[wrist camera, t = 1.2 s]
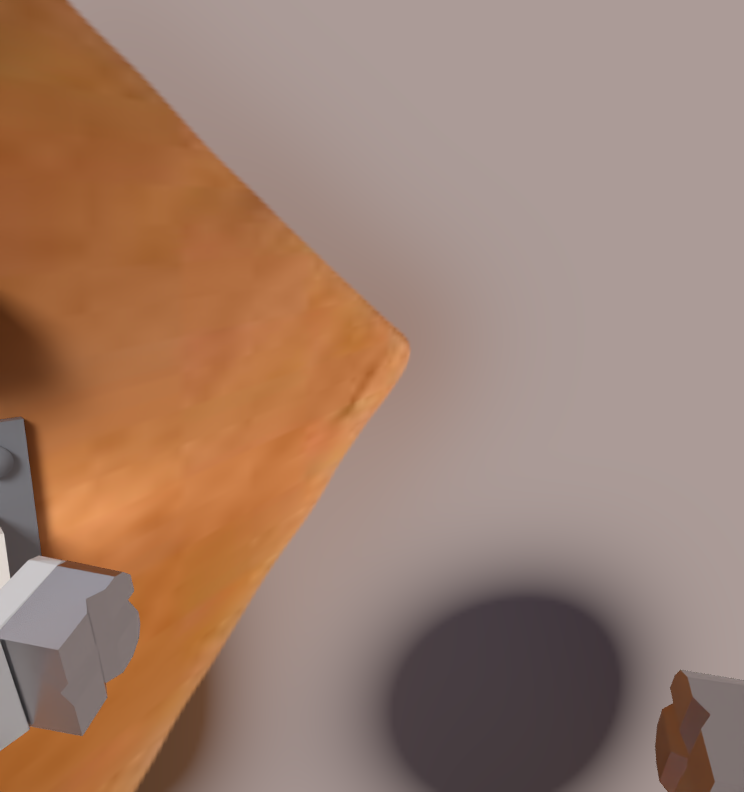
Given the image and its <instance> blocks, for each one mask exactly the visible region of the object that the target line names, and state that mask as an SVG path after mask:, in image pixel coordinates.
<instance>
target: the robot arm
mask: <svg viewBox="0 0 744 792" xmlns="http://www.w3.org/2000/svg"><path fill="white" fill-rule="evenodd" d="M133 592H134V588H133V584H132V580H131V575H129V574H127V573H124V572H120V571H115V570H110V569H105V568H101V567H96V566H91V565H86V564H81V563H76V562H71V561H64V560H59V559H54V558H49V557H44V556H37V557H34V558H32V559H30V560H28V561H27V562H26V563H25V564H24V565H23V566H22V567H21V568H20V569H19V570H18V571H17V572H16V573H15V574H14V575H13V576H12V578H11V579H10V580H9V581H8V582H7V583H6V584H5V585H4V586H3V587H2V588H1V589H0V751H1V750H2V749H3V748H5V747H6V746H8V745H9V744H10V743H12V742H13V741H14V740H16V739H17V738H19V737H20V736H21V735H23V734H24V733H25V732H27V731H28V730H29V729H30V728H29V726H32V727H37V728H43V729H48V730H53V731H58V732H64V733H69V734H74V735H80V736H83V734H84V733H85V731H86V730H87V728H88V727H89V725H90V723H91V722H92V720H93V719H94V717H95V716H96V714H97V713H98V711H99V709H100V708H101V706H102V705H103V703H104V702H105V700H106V699H107V689H106V682H108V681H110V680H111V679H113V678H115V677H116V676H118V675H120V674H121V673H123V672H124V670H125V668H126V667H127V665H128V663H129V662H130V660H131V658H132V657H133V654H134V651H135V648H136V645H137V642H138V639H139V632H140V619H139V614H138V611H137V610H136V609H135V608H134V606H133V605H132V604H131V603H130V602H129V601H128V599H129V597H130V596H131V595H132V593H133ZM670 690H671V694H672V699H673V704H671V705H669V706H667V707H665V708H664V709H662V711H661V715H660V718H659V721H658V724H657V731H656V743H655V751H656V764H657V770H658V776H659V781H660V783H661V784H662V785H663V786H664V788H665V789H666V790H667V791H668V792H744V680H740V679H734V678H727V677H721V676H715V675H709V674H703V673H697V672H691V671H685V670H680V671H679V672H678V673H677V674H676V675H675V676H674V679H673V681H672V684H671V687H670Z"/></svg>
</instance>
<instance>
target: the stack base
mask: <svg viewBox="0 0 744 792" xmlns="http://www.w3.org/2000/svg"><path fill="white" fill-rule="evenodd" d="M37 556H42V555H41V548H40V540H39V533H38V525H37V518H36V510H35V502H34V495H33V487H32V480H31V472H30V465H29V457H28V449H27V442H26V434H25V427H24V419H23V418H22V417H15V418H7V419H0V589H1V588H2V587H3V586H4V585H5V584H6V583H7V582H8V581H9V580H10V579H11V578H12V576H13V575H14V574H15V573H16V572H17V571H18V570H19V569H20V568H21V567H22V566H23V565H24V564H25V563H26V562H27V561H28V560H30V559H32V558H34V557H37Z"/></svg>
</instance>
